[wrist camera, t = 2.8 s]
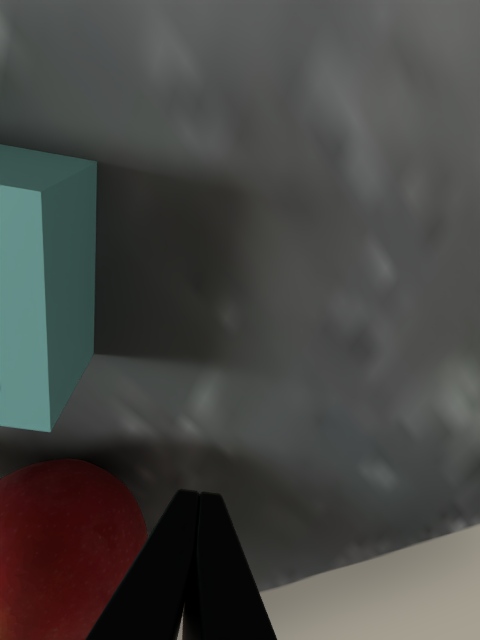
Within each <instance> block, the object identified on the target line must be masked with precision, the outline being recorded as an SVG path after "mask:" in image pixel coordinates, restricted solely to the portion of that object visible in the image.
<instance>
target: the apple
mask: <svg viewBox="0 0 480 640" xmlns="http://www.w3.org/2000/svg"><path fill="white" fill-rule="evenodd" d="M146 540H147V529H146V524H145V521H144V518H143V515H142V512H141V510H140V507H139V505H138V503H137V502H136V500H135V498H134V496H133V495H132V493H131V492H130V490H129V489H128V488H127V487H126V485H125V484H123V483H122V482H121V481H120V480H119V479H118V478H116V477H115V476H114V475H112V474H111V473H109V472H107V471H106V470H104V469H102V468H100V467H98V466H96V465H94V464H92V463H89V462H86V461H84V460H79V459H71V458H65V459H56V460H50V461H45V462H39V463H34V464H31V465H28V466H25V467H23V468H21V469H19V470H16V471H14V472H12V473H10V474H9V475H7V476H5V477H3V478H1V479H0V640H85V639H86V637H87V635H88V634H89V632H90V631H91V629H92V627H93V626H94V624H95V623H96V621H97V619H98V618H99V616H100V614H101V613H102V611H103V610H104V608H105V606H106V605H107V603H108V602H109V600H110V598H111V597H112V595H113V594H114V592H115V590H116V589H117V587H118V585H119V584H120V582H121V581H122V579H123V577H124V576H125V574H126V573H127V571H128V569H129V568H130V566H131V564H132V563H133V561H134V560H135V558H136V556H137V555H138V553H139V552H140V550H141V548H142V547H143V545H144V544H145V542H146Z"/></svg>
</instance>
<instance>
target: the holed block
mask: <svg viewBox="0 0 480 640" xmlns="http://www.w3.org/2000/svg"><path fill="white" fill-rule="evenodd" d="M96 196H97V161H92V160H86V159H80V158H75V157H69V156H64V155H58V154H52V153H47V152H41V151H35V150H30V149H24V148H18V147H13V146H7V145H2V144H0V426H6V427H14V428H21V429H29V430H37V431H44V432H51V431H52V429H53V427H54V425H55V423H56V422H57V420H58V418H59V416H60V414H61V413H62V411H63V409H64V407H65V405H66V403H67V402H68V400H69V398H70V396H71V394H72V393H73V391H74V389H75V387H76V385H77V384H78V382H79V380H80V378H81V376H82V374H83V373H84V371H85V369H86V367H87V365H88V364H89V362H90V360H91V358H92V356H93V355H94V310H95V253H96Z"/></svg>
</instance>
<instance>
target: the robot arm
mask: <svg viewBox="0 0 480 640" xmlns="http://www.w3.org/2000/svg"><path fill="white" fill-rule="evenodd" d="M183 608H184V612H183ZM182 613H183V635H182V640H277V638H276V635H275V633H274V630H273V628H272V625H271V622H270V620H269V617H268V614H267V612H266V610H265V607H264V604H263V602H262V599H261V596H260V594H259V591H258V588H257V586H256V583H255V581H254V578H253V575H252V573H251V570H250V568H249V565H248V562H247V560H246V557H245V555H244V552H243V549H242V547H241V544H240V542H239V539H238V536H237V534H236V531H235V529H234V526H233V523H232V521H231V518H230V516H229V513H228V510H227V508H226V505H225V503H224V500H223V498H222V496H221V495H220V494H218V493H210V492H202V493H200V495H199V493H198V492H197V491H193V490H185V489H180V490H178V491H177V492H176V494H175V495H174V497H173V498H172V500H171V502H170V503H169V505H168V506H167V508H166V510H165V511H164V513H163V515H162V516H161V518H160V519H159V521H158V523H157V524H156V526H155V527H154V529H153V531H152V532H151V534H150V535H149V537H148V539H147V540H146V542H145V544H144V545H143V547H142V548H141V550H140V552H139V553H138V555H137V556H136V558H135V560H134V561H133V563H132V564H131V566H130V568H129V569H128V571H127V573H126V574H125V576H124V577H123V579H122V581H121V582H120V584H119V585H118V587H117V589H116V590H115V592H114V594H113V595H112V597H111V598H110V600H109V602H108V603H107V605H106V606H105V608H104V610H103V611H102V613H101V614H100V616H99V618H98V619H97V621H96V623H95V624H94V626H93V627H92V629H91V631H90V632H89V634H88V635H87V637H86V639H85V640H177V637H178V633H179V628H180V623H181V618H182Z"/></svg>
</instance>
